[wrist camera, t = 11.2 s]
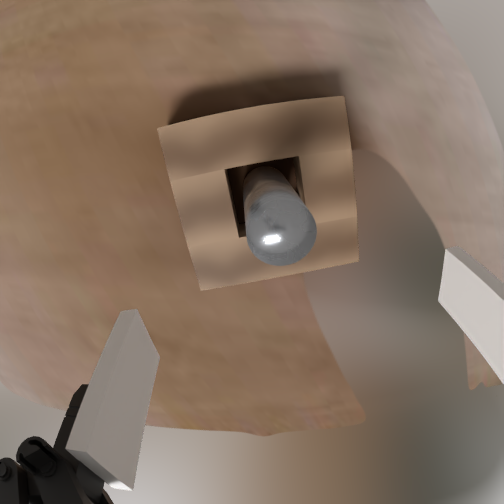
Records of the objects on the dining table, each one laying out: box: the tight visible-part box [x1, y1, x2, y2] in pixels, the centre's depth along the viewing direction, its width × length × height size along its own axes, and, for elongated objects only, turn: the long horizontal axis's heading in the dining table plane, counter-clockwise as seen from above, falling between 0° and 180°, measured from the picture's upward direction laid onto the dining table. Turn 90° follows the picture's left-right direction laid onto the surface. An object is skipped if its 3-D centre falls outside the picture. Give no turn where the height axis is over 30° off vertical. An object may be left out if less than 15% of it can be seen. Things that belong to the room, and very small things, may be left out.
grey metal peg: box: [243, 166, 317, 266], centre depth 25 cm, size 4×4×12 cm
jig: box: [157, 96, 359, 291], centre depth 28 cm, size 16×16×4 cm
